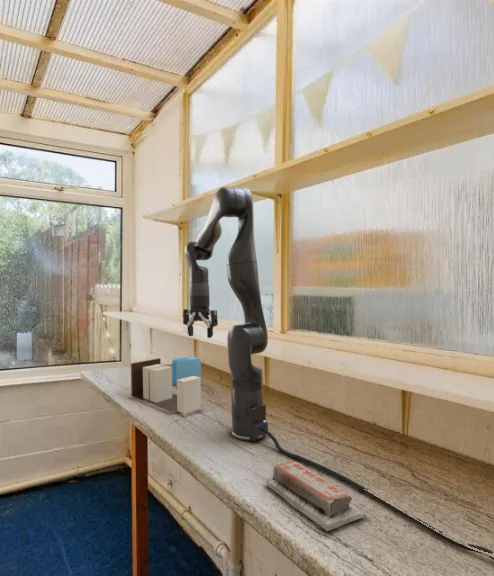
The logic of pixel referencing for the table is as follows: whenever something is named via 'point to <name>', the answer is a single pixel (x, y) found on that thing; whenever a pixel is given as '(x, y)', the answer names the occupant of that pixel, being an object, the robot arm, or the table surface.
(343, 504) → the packaged product
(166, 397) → the cream rectangular block
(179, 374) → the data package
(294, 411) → the table surface
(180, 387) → the upright ivory block
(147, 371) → the white book
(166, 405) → the dark wood bookend
